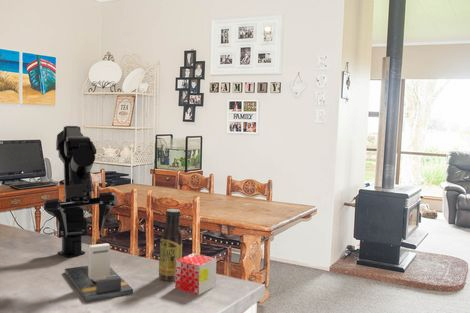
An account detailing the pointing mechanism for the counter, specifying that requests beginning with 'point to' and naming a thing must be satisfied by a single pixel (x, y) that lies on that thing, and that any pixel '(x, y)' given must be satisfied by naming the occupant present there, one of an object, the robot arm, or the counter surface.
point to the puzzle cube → (195, 273)
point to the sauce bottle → (170, 246)
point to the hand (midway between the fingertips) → (83, 233)
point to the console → (97, 284)
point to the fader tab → (99, 262)
